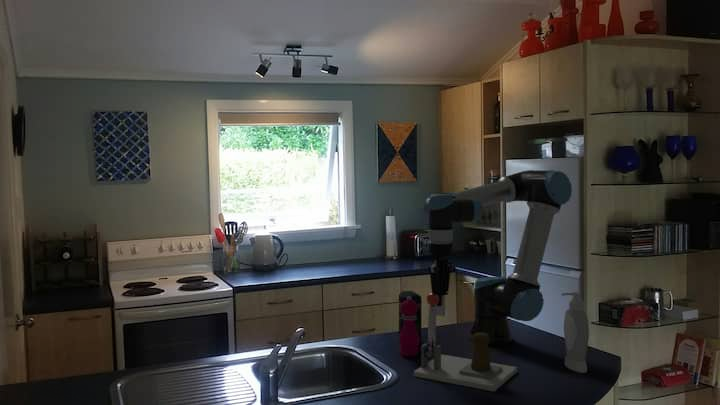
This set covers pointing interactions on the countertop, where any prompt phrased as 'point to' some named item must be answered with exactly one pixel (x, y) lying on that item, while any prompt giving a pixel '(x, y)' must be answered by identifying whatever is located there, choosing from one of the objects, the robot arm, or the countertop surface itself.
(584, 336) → the soap bottle
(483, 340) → the cork
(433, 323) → the press lever
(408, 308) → the pepper mill
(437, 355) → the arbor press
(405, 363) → the countertop surface
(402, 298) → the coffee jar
